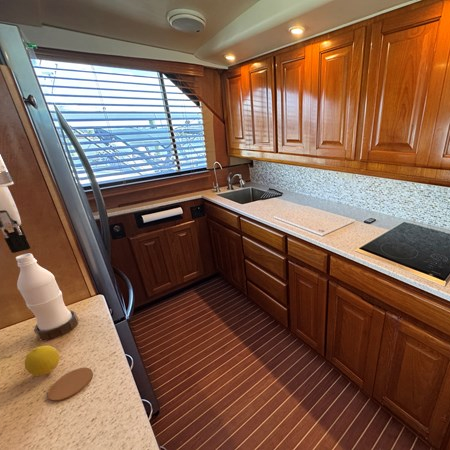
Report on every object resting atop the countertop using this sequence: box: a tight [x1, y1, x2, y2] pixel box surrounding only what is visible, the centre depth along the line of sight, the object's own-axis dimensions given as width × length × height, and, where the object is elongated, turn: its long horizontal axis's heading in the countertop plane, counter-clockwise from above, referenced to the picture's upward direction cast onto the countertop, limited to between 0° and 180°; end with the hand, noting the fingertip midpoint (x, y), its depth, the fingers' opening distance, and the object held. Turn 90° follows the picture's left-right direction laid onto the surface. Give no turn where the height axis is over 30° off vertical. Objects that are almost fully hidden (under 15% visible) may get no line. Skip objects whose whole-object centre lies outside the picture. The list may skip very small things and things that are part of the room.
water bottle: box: [15, 252, 72, 331], centre depth 68 cm, size 7×7×25 cm
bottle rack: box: [33, 310, 80, 341], centre depth 72 cm, size 9×9×3 cm
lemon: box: [24, 345, 60, 377], centre depth 57 cm, size 6×6×8 cm
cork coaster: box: [47, 367, 94, 403], centre depth 56 cm, size 8×8×1 cm
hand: (19, 245), depth 62 cm, fingers open, 9 cm apart
